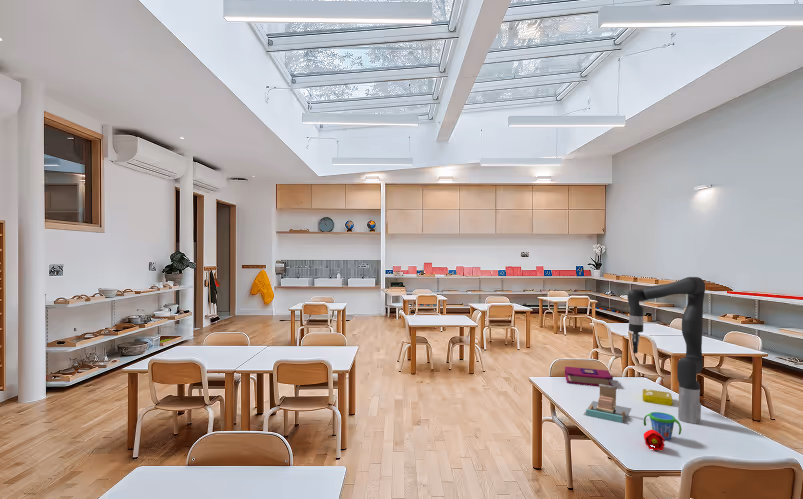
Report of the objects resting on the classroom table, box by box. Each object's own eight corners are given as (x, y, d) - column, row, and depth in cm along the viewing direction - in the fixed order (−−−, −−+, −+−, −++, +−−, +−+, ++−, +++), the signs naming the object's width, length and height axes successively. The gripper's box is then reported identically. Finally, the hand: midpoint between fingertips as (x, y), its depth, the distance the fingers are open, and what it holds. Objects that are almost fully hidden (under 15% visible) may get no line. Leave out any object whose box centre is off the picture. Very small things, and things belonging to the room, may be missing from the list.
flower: (664, 434, 202) (668, 440, 194) (656, 448, 203) (660, 455, 195) (647, 424, 204) (650, 430, 197) (638, 438, 205) (641, 445, 198)
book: (564, 375, 317) (564, 365, 317) (607, 379, 309) (607, 369, 309) (566, 383, 297) (567, 372, 297) (612, 388, 289) (613, 376, 289)
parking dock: (592, 401, 260) (593, 395, 260) (631, 409, 249) (631, 402, 249) (583, 415, 237) (583, 409, 237) (624, 424, 226) (625, 417, 226)
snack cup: (639, 434, 214) (640, 413, 214) (649, 429, 221) (649, 408, 221) (675, 445, 202) (676, 423, 202) (684, 440, 209) (684, 418, 209)
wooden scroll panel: (598, 409, 246) (599, 383, 246) (616, 413, 241) (617, 386, 241) (594, 415, 237) (595, 388, 237) (613, 419, 232) (614, 391, 232)
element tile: (672, 407, 256) (672, 398, 256) (642, 402, 263) (643, 394, 263) (670, 399, 269) (670, 391, 269) (642, 395, 276) (642, 387, 276)
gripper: (642, 325, 254) (641, 355, 254) (644, 322, 265) (643, 351, 265) (627, 323, 258) (626, 354, 258) (630, 321, 269) (629, 350, 269)
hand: (635, 352), depth 261 cm, fingers closed
